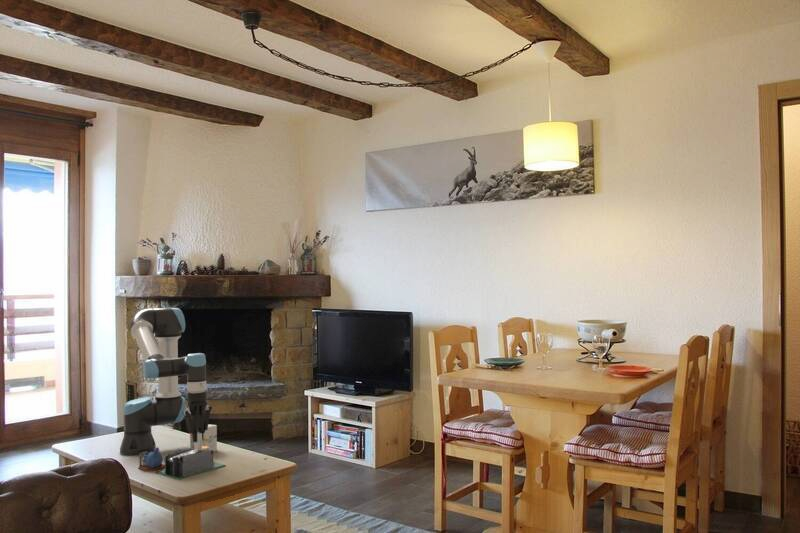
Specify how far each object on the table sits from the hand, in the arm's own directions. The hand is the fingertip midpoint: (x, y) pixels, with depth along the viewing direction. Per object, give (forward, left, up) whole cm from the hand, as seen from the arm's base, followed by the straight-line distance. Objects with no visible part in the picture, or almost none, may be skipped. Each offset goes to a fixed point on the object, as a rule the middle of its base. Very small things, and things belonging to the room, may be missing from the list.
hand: (198, 449), depth 268 cm
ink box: (-21, +17, -8) cm, 28 cm away
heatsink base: (-1, -3, -8) cm, 8 cm away
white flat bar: (0, -4, -2) cm, 5 cm away
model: (-18, -10, -8) cm, 22 cm away
